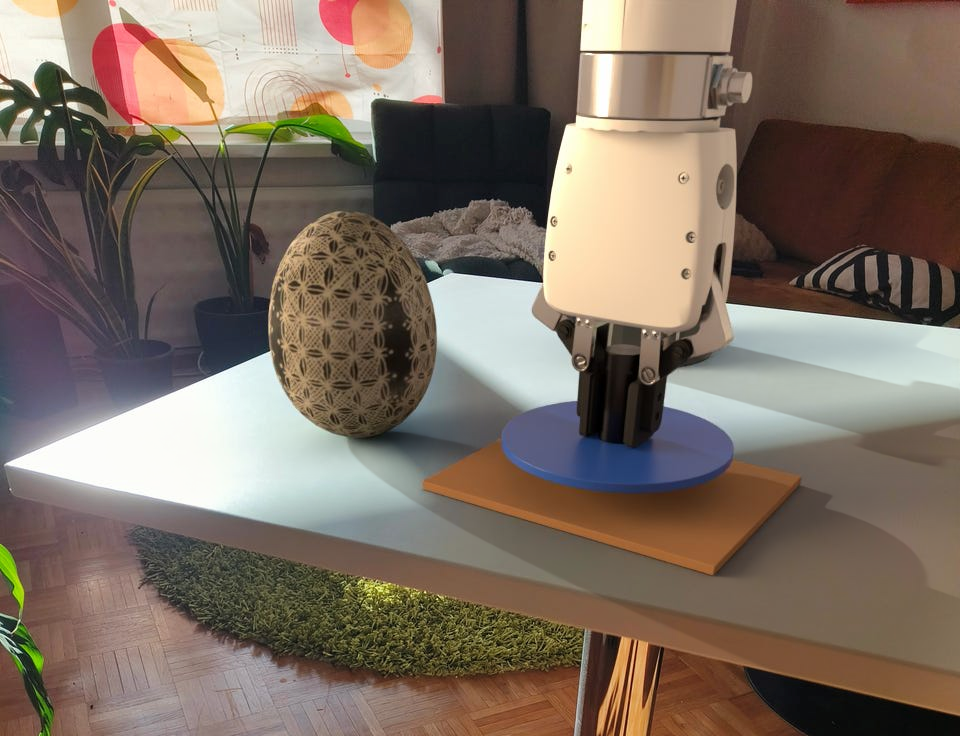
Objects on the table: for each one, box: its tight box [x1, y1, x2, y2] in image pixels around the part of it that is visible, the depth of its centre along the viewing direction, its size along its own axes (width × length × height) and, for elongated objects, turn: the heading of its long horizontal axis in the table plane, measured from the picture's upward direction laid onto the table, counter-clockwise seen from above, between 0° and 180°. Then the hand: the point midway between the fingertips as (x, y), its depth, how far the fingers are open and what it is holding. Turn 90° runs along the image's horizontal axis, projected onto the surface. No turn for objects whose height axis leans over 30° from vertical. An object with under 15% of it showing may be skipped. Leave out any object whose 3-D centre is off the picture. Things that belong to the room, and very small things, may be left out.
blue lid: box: [501, 344, 735, 493], centre depth 55 cm, size 15×15×7 cm
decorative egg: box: [267, 210, 438, 439], centre depth 62 cm, size 12×12×15 cm
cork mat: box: [422, 437, 803, 576], centre depth 58 cm, size 20×15×1 cm
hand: (616, 433), depth 56 cm, fingers closed on blue lid, 2 cm apart
